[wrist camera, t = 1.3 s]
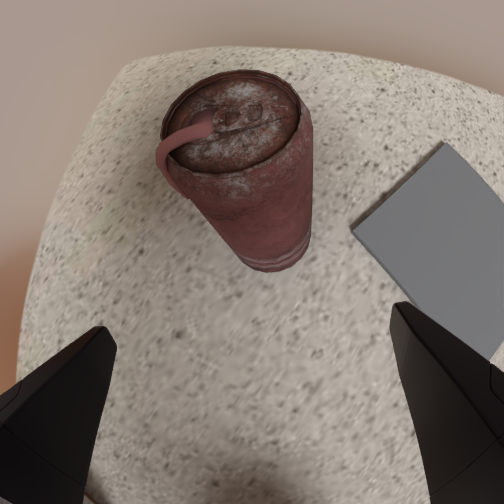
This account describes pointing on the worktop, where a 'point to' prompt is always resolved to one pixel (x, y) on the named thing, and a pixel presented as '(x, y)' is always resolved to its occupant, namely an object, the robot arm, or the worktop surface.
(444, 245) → the slate mat
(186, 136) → the can
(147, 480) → the worktop surface
